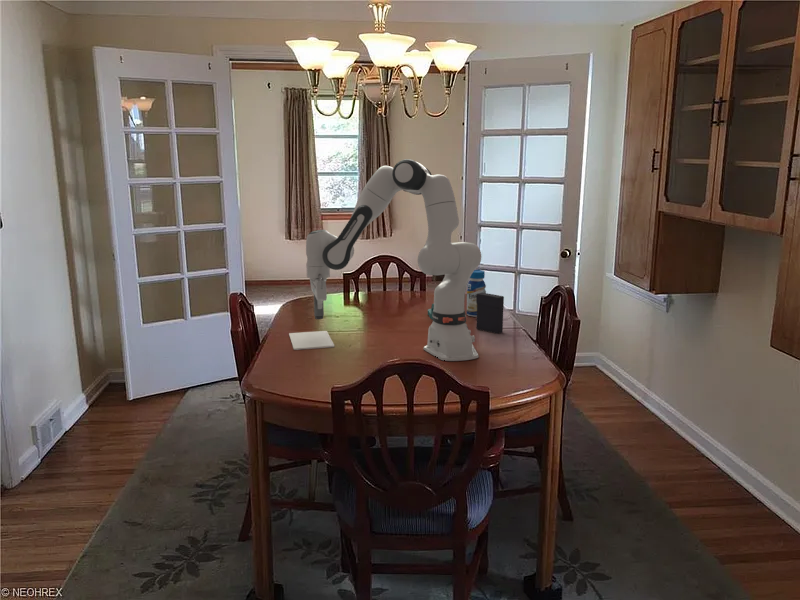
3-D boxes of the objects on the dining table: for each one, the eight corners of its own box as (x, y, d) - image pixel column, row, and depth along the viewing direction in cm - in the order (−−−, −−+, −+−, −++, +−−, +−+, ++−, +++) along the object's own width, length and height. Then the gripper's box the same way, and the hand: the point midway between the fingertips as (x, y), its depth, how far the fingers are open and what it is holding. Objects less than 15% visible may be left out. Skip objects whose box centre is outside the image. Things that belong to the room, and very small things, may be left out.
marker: (324, 319, 248) (323, 289, 245) (314, 319, 247) (314, 289, 244) (323, 316, 251) (322, 287, 248) (313, 317, 250) (313, 287, 248)
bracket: (449, 323, 272) (450, 305, 270) (434, 323, 271) (434, 305, 269) (441, 313, 289) (441, 296, 288) (426, 313, 288) (426, 296, 287)
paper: (334, 347, 237) (334, 345, 236) (293, 350, 233) (293, 348, 233) (326, 332, 256) (326, 330, 256) (289, 334, 253) (288, 333, 253)
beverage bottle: (484, 312, 289) (485, 269, 284) (486, 317, 281) (487, 272, 276) (465, 312, 289) (466, 269, 285) (466, 317, 281) (468, 272, 276)
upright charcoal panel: (503, 332, 257) (505, 295, 254) (497, 334, 254) (499, 297, 251) (481, 327, 265) (482, 291, 261) (475, 329, 261) (476, 293, 258)
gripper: (330, 276, 236) (330, 313, 239) (323, 267, 255) (323, 301, 258) (313, 277, 234) (314, 314, 237) (307, 268, 254) (308, 301, 257)
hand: (319, 307), depth 248 cm, fingers closed on marker, 4 cm apart
